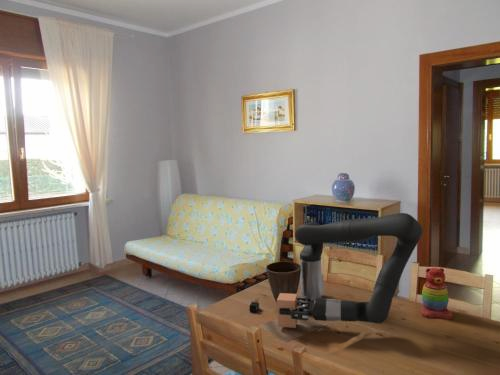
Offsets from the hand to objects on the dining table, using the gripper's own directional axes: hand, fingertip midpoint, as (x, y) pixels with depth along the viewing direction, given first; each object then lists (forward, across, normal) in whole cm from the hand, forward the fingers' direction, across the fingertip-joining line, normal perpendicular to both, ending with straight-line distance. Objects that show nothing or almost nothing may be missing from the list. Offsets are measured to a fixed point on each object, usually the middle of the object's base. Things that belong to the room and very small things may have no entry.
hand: (281, 307), depth 140 cm
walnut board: (-4, -2, +9) cm, 9 cm away
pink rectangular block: (-2, 0, +6) cm, 6 cm away
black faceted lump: (+13, -12, +9) cm, 20 cm away
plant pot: (+3, -24, +9) cm, 25 cm away
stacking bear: (-56, -22, +9) cm, 61 cm away
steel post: (-2, 0, +7) cm, 8 cm away
